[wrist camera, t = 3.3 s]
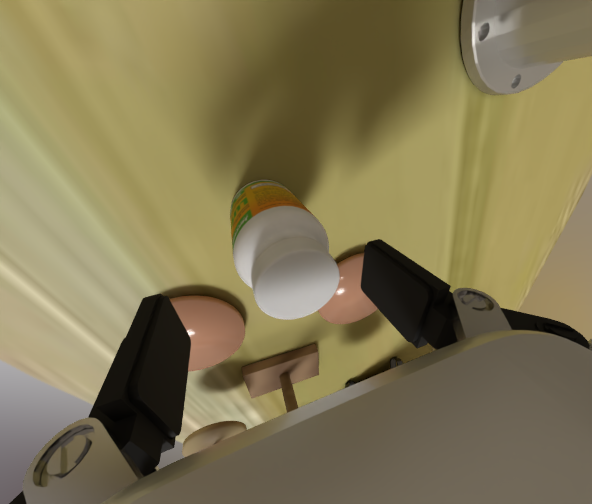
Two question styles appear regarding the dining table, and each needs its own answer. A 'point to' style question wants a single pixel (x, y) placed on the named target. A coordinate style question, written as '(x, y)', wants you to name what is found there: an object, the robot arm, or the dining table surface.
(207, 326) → the tan flat disc
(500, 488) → the robot arm
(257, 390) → the balance
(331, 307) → the pink disc
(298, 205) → the supplement bottle
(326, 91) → the dining table surface
